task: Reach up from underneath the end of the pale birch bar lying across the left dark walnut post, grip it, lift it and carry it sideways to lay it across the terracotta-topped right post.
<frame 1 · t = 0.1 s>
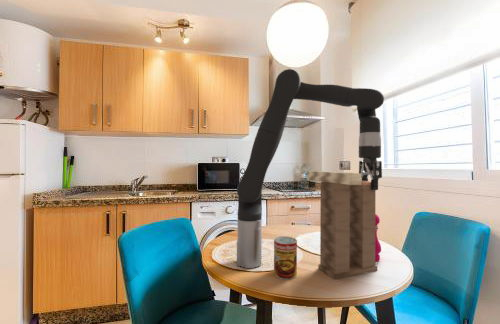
hand: (369, 188, 92), 29 cm above the table, tool pointing down, fingers open, 8 cm apart
walnut rack: (347, 269, 90), on the table
birch bar: (330, 181, 89), point 32 cm above the table, touching walnut rack
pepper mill: (371, 259, 100), on the table
canned food: (285, 274, 86), on the table
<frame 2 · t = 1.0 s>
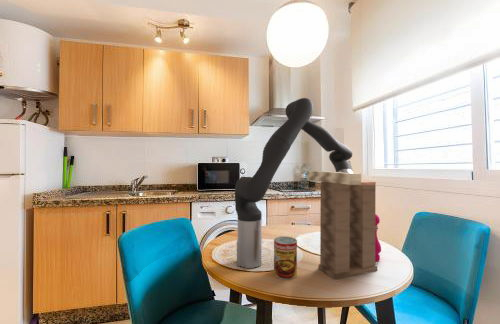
hand: (353, 213, 97), 19 cm above the table, tool tilted 45°, fingers open, 8 cm apart
nothing on the table moved.
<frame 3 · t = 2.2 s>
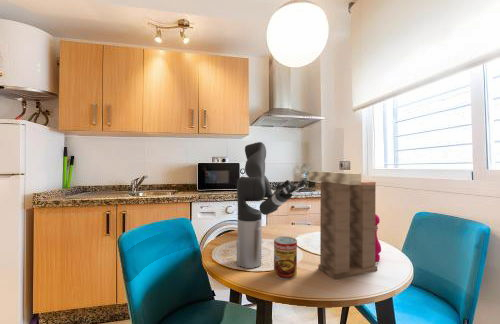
hand: (296, 181, 110), 30 cm above the table, tool pointing upward, fingers open, 8 cm apart
nothing on the table moved.
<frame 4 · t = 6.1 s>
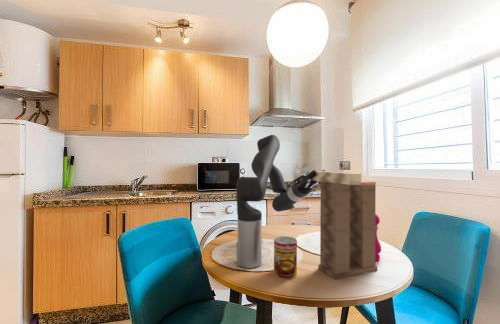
hand: (320, 172, 95), 35 cm above the table, tool pointing upward, fingers closed on birch bar, 4 cm apart
birch bar: (330, 181, 89), point 32 cm above the table, touching gripper, walnut rack
everything else where it was.
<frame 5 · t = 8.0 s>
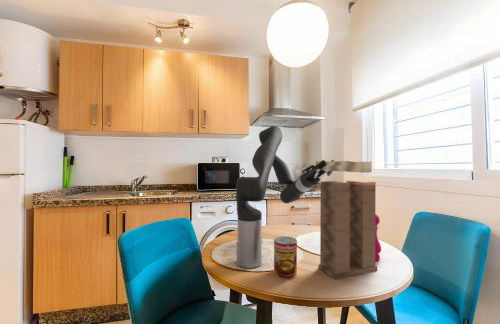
hand: (329, 162, 97), 39 cm above the table, tool pointing upward, fingers closed on birch bar, 4 cm apart
birch bar: (340, 170, 91), point 36 cm above the table, touching gripper
everything else where it was.
when the fingers open (36 cm above the table, at t = 10.1 s): birch bar stays where it is, resting on walnut rack.
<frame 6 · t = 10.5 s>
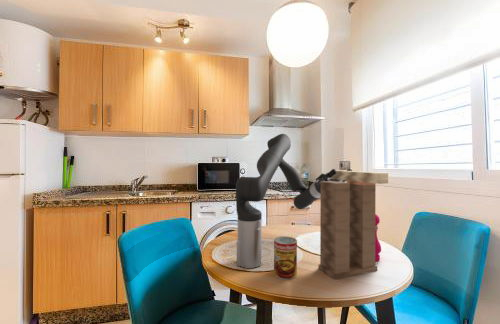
hand: (343, 170, 100), 36 cm above the table, tool pointing upward, fingers open, 8 cm apart
birch bar: (356, 180, 94), point 32 cm above the table, touching walnut rack
everything else where it was.
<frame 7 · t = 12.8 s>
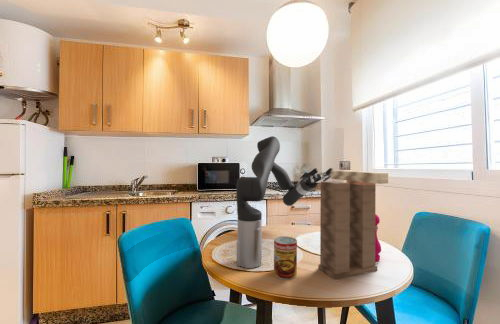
hand: (324, 169, 111), 36 cm above the table, tool pointing upward, fingers open, 8 cm apart
nothing on the table moved.
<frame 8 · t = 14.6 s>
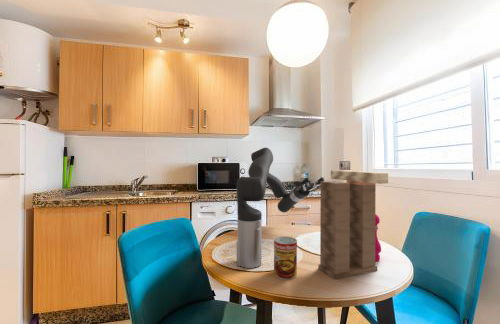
hand: (315, 179, 117), 31 cm above the table, tool pointing upward, fingers open, 8 cm apart
nothing on the table moved.
at the end: birch bar 0.3 cm from the target spot, point 32.0 cm above the table; the gripper is holding nothing; birch bar tilted 0° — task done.
